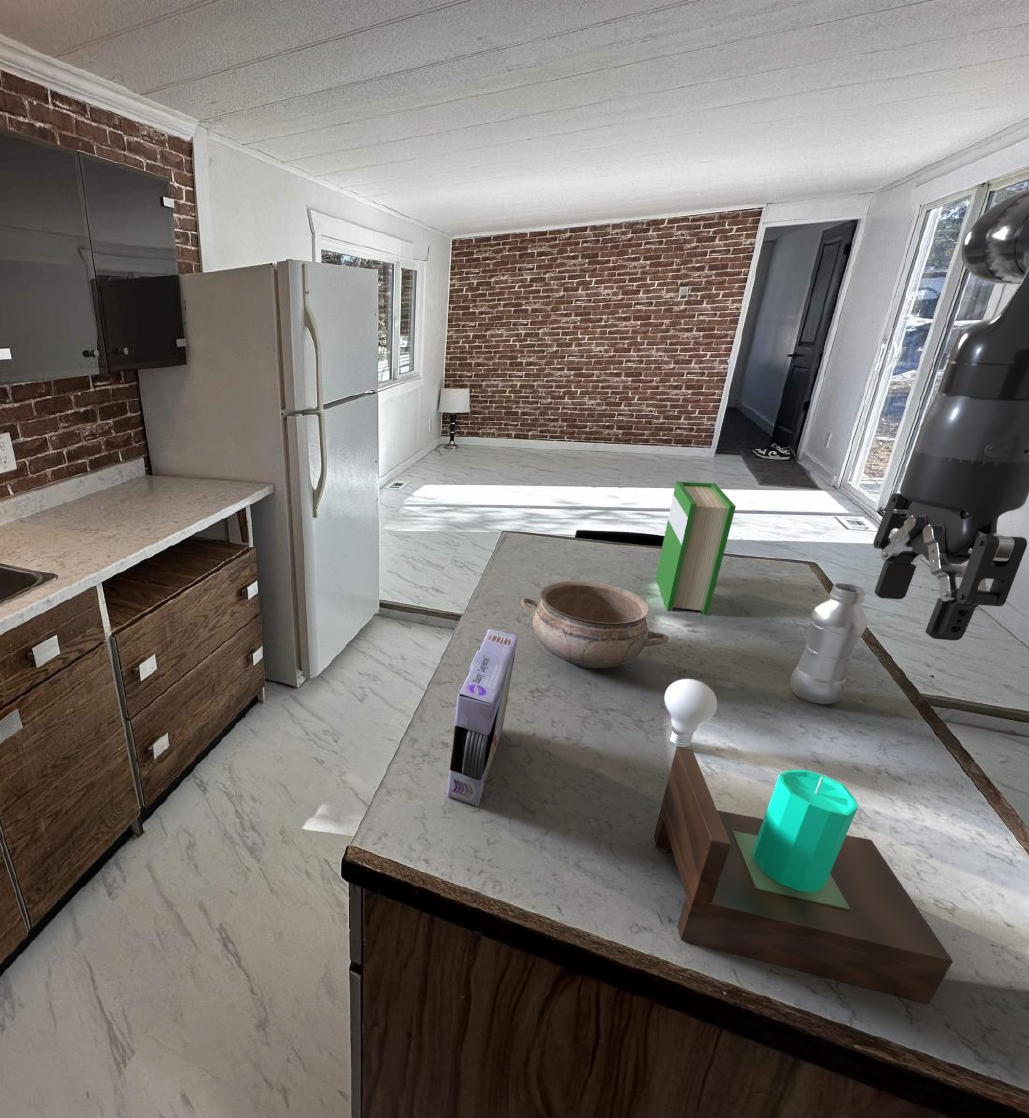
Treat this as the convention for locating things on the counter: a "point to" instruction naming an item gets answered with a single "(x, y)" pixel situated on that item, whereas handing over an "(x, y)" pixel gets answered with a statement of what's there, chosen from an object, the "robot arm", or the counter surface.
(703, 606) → the hardback book
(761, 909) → the shelf
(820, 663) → the plastic bottle
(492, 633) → the cake pan box
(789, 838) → the candle
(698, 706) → the lightbulb
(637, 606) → the cooking pot
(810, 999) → the counter surface
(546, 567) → the counter surface
